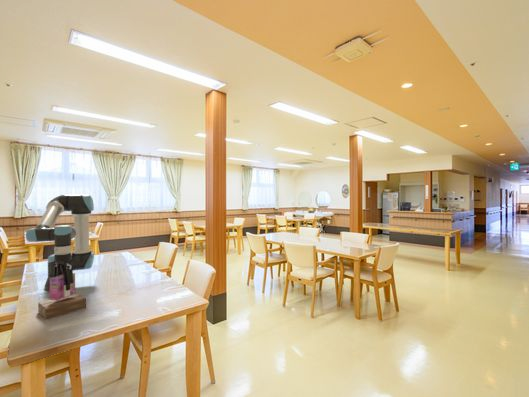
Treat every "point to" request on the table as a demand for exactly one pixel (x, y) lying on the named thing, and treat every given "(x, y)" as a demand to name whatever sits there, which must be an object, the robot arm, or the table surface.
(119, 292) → the table surface
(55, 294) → the box
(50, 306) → the block
